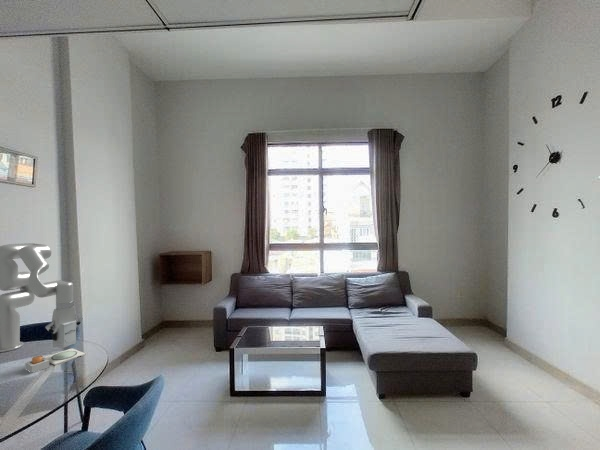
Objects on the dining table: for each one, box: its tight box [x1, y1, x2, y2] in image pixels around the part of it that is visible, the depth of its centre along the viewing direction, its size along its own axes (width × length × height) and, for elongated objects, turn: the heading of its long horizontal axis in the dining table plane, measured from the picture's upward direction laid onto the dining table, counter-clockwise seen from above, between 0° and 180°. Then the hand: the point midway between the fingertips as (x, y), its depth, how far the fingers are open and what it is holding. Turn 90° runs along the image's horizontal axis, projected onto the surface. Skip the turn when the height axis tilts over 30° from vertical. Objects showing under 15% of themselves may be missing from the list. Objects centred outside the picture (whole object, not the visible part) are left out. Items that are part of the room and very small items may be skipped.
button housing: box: [24, 358, 50, 373], centre depth 152 cm, size 7×7×4 cm
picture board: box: [43, 347, 86, 366], centre depth 165 cm, size 14×14×1 cm
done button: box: [31, 355, 44, 364], centre depth 152 cm, size 4×4×3 cm
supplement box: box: [52, 321, 77, 349], centre depth 164 cm, size 7×7×13 cm
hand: (64, 337), depth 164 cm, fingers closed on supplement box, 8 cm apart
